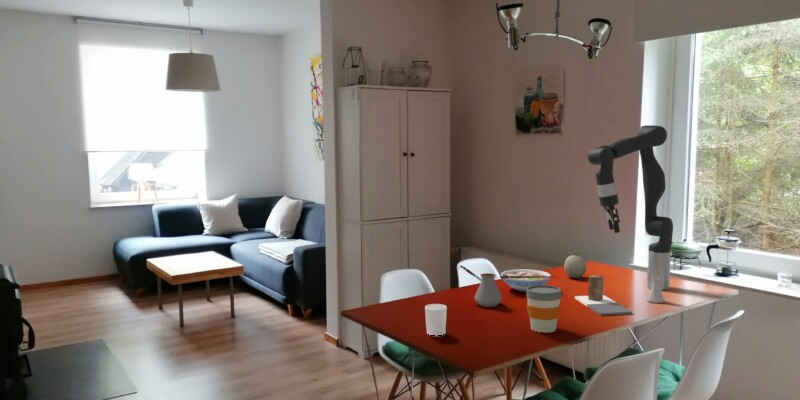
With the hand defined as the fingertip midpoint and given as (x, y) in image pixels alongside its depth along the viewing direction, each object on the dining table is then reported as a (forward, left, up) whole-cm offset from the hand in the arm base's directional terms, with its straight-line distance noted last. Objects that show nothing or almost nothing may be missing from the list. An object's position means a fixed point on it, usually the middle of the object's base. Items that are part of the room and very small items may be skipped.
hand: (614, 230), depth 258 cm
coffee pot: (-5, -58, -30) cm, 66 cm away
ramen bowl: (-22, -32, -30) cm, 49 cm away
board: (+9, -9, -30) cm, 33 cm away
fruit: (-41, 0, -30) cm, 51 cm away
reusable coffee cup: (+34, -43, -30) cm, 63 cm away
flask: (+6, +16, -30) cm, 35 cm away
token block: (+2, -9, -29) cm, 30 cm away
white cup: (+33, -83, -30) cm, 94 cm away
